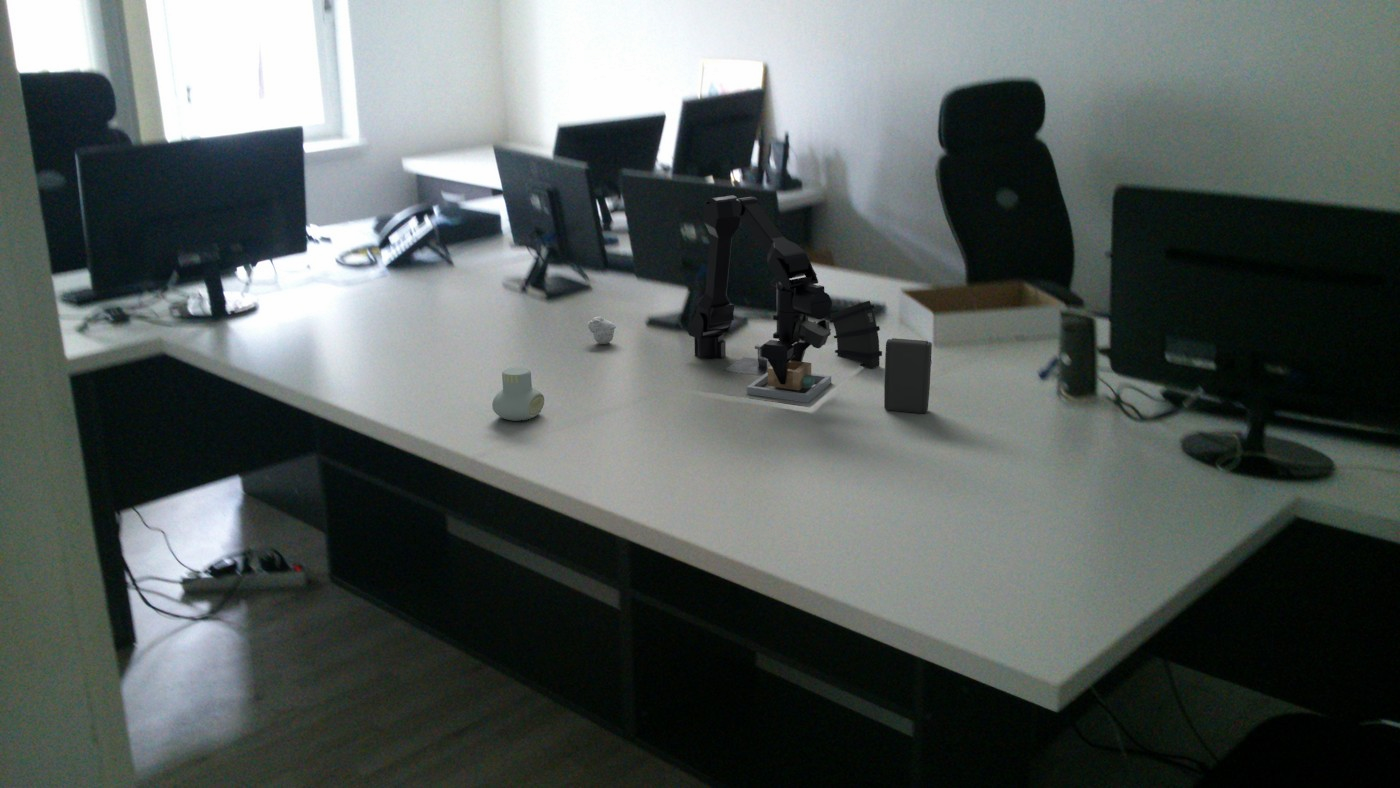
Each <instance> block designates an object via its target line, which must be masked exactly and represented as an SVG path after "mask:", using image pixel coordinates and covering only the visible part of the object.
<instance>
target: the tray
mask: <svg viewBox="0 0 1400 788" xmlns="http://www.w3.org/2000/svg"><path fill="white" fill-rule="evenodd" d="M811 375H814V383H816V384H814V385H813V386H812V387H810V388H809V389H808V390H807V391H806V392H804V393H803V392H796V391H790V390H783V389H778V388H777V389H775V388H768V387H763V386H765V384H768V372H767V373H765V374H764V375H763V376H760V377H758V378H757V379H756V380H754V381H752V382H751V383H750V384H749V385H747V386H746V394H747V395H751V396H753V395H754V396H761V397H767V398H772V399H773V398H774V399H779V400H780V399H781V400H788V401H793V402H794V401H796V402H801V403H809V402H810V401H811V400H813V399H814V398H815V397H816V396H817V395H819V394H820V393H821V392H822V391H823V390H824V389H826V388H827V387H828V386H830V384H832V376H831V375H824V374H816V373H811ZM750 399H752V400H753V399H754V400H755V398H754V397H753V398H752V397H750ZM757 400H759V401H762V399H759V398H757ZM763 401H765V402H768V400H766V399H765V400H764V399H763ZM770 402H772V403H775V401H773V400H770ZM777 403H780V404H782V402H781V401H777ZM784 404H785V405H786V404H787V405H789V403H788V402H787V403H786V402H784ZM791 405H793V406H796V404H794V403H791ZM798 406H799V407H803V405H800V404H798Z"/></svg>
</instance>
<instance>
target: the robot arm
mask: <svg viewBox="0 0 1400 788" xmlns="http://www.w3.org/2000/svg"><path fill="white" fill-rule="evenodd" d="M703 219H704V220H703V224H704V225H705V227H706V229H707V231H708V233H709V241H708V243H709V245H708V254H707V255H708V257H707V267H706V278H705V291H704V294H703V295H702V297H701V298H700V300H699V302H698V303H697V306H696V311H695V315H694V317H693V318H692V319H691V321H690V322H689V324H688V325H687V327H686V328H687V331H688V335H689V336H690V337H693V338H694V339H693V340H694V341H693V343H694V356H695V357H697V358H699V359H702V360H703V359H704V360H713V359H714V360H722V359H723V358H725V357H726V356H727V354H726V353H727V352H726V350H727V349H726V345H727V344H726V342H727V341H726V340H724V338H725V336H724V335H725V334H729V333H730V331H731V326H732V322H733V321H734V319H735V318H734V311H735V304H733V303H731V302H730V299H729V298H728V296H727V295H728V294H727V291H728V282H729V273H730V260H731V250H732V241H733V236H734V235H735V233H736V231H737V230H738V229H739V227H740V226H741V222H742V223H743V224H744V226H745V227H746V228H747V229H748V230H749V232H750V233H751V234H752V236H753V238H754V239H755V240H756V241H757V243H758V244H759V245H760V246H761V248H762V249H763V251H764V252H765V254H766V255H767V258H766V259H767V265H768V267H769V268H770V270H771V272H772V274H773V275H774V277H775V278H773V280H772V281H771V282H770V286H773V287H776V312H775V313H774V314H773V315H772V317H773V318H772V320H773V321H776V331H775V332H773V334H772V338H773V339H774V340H773V339H769V340H768V341H766V342H764V343H763V344H761V345H762V346H761V347H760V356H761V357H765V358H767V360H768V361H769V363H770V365H771V366H772V368H773V370H774V372H775V374H776V376H777V378H778V380H779V382H780V384H785V383H786V378H787V371H788V364H789V361H790V360H793V361H800V362H803V361H804V356H805V354H806V350H807V349H808V348H809V347H810V346H812V347H813V348H815V349H821V348H822V347H823V346H824V345H826V343H827V341H828V338H829V336H831V334H832V332H831V330H832V329H831V328H830V320H827V319H825V318H826V317H827V316H828V315H829V314H830V312H831V310H832V308H833V301H832V299H831V296H830V295H829V294H828V293H827V292H825V285H820V284H819V279H818V277H817V272H816V271H815V269H814V268H813V265H812V263H811V261H810V258H809V256H808V254H807V252H806V251H805V250H804V249H803V248H801V247H800V246H799V244H797V243H795V242H793V241H790V240H788V239H787V238H786V237H785V236H784V235H783V234H782V233H781V232H780V230H779V229H778V227H777V226H776V224H774V222H772V220H771V219H770V217H769V216H768V215H767V213H766V212H765V211H764V210H763V208H762V207H761V206H760V202H759V200H758V198H756V197H754V196H747V197H740V198H738V197H737V196H736V195H726V196H718V197H712V198H708V199H707V201H705V203H704V206H703ZM818 284H819V285H818ZM809 318H813V319H815V320H818V321H815V320H814V321H811V320H809Z"/></svg>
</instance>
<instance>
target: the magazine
mask: <svg viewBox="0 0 1400 788" xmlns="http://www.w3.org/2000/svg"><path fill="white" fill-rule="evenodd" d="M875 308H876V307H875V304H872V303H871V300H868V301H863V302H859V303H857V304H854V305H852V306H849V307H846V308H844V309H840V310H838V311H836V312H833V313H830V317H831V318H830V319H829V324H830V323H832V324H833V327H834V330H835V331H834V332H835V335H834V336H833V338H834V339H836V342H837V344H836V345H837V349H836V350H834V353H835V354H837V356H838V357H842V358H845V359H849V360H852V361H854V362H855V361H856V362H860V364H859V366H860V367H863V368H867V369H869V370H871V369H875V368H878V367H880V357H883V351H881V350H880V339H879V333H878V332H879V331H881V329H880V326H879V325H877V321H876V316H875V313H874V310H873V309H875Z"/></svg>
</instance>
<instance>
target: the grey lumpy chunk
mask: <svg viewBox="0 0 1400 788" xmlns="http://www.w3.org/2000/svg"><path fill="white" fill-rule="evenodd" d="M587 326H588V327H587V328H588V329H589V331H590V332H591V334H592V335H593V339H594V341H595V342H596V343H598V344H599V345H607V344H609V343H610V342H611V341H613V338H614V335H615V334H614V333H615V329H616V328H617V326H616V324H615V323H614V322H612V321H610V320H608V319H605V318H604V317H603V316H594V317H593V318H592V319H591V320H588V322H587Z"/></svg>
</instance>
